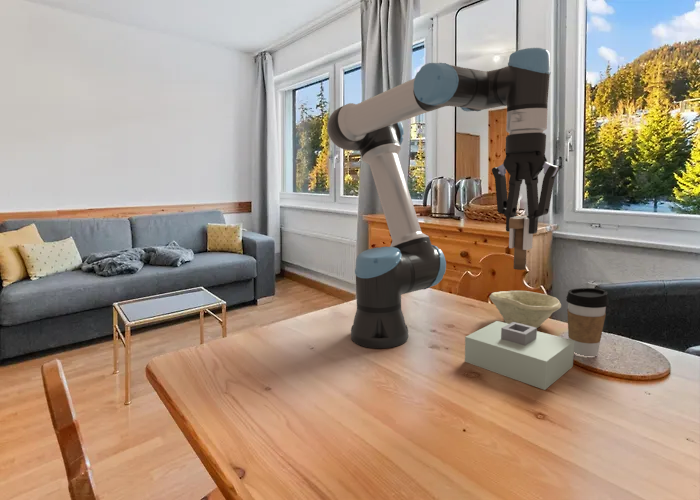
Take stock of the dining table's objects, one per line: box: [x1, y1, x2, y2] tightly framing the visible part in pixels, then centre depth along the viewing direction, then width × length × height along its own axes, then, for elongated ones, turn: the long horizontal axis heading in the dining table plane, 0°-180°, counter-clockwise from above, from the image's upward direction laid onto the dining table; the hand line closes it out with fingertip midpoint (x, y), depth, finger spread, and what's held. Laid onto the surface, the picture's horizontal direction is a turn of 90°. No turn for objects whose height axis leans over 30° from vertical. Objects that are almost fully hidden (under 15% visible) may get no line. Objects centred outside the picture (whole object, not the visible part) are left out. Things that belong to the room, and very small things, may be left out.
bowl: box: [488, 290, 562, 329], centre depth 115 cm, size 14×18×15 cm
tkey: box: [509, 215, 528, 271], centre depth 88 cm, size 7×2×11 cm, turn 133°
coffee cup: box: [565, 287, 610, 356], centre depth 96 cm, size 8×8×15 cm
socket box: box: [464, 320, 575, 391], centre depth 92 cm, size 18×14×8 cm
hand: (520, 247), depth 88 cm, fingers closed on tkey, 2 cm apart
